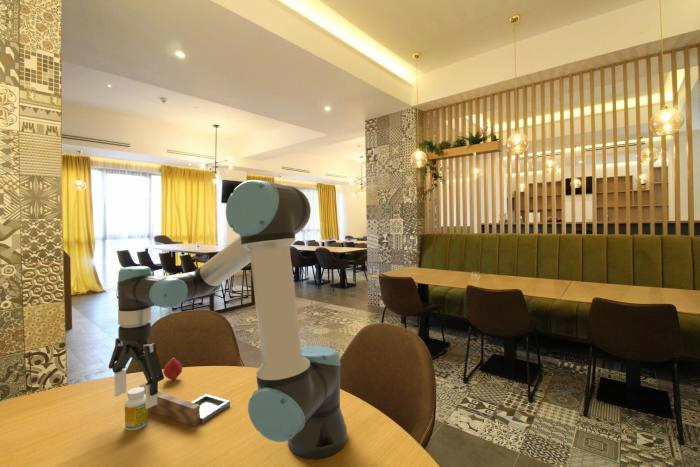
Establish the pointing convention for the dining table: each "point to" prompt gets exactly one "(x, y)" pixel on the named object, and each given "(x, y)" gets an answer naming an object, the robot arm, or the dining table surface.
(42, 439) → the dining table surface
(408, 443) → the dining table surface
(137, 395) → the supplement bottle
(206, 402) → the socket
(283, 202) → the robot arm
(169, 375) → the onion
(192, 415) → the door edge rail
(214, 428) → the dining table surface
